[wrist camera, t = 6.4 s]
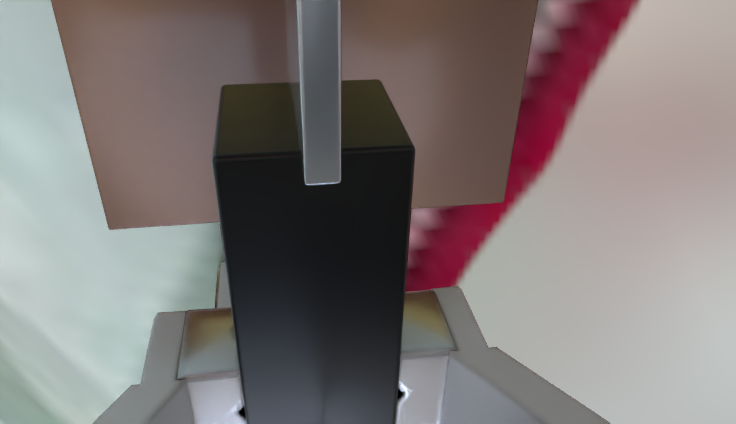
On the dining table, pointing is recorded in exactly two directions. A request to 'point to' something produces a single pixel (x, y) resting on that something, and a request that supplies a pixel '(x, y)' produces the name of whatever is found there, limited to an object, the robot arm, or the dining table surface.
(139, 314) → the dining table surface
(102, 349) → the dining table surface
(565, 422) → the robot arm
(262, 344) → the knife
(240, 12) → the cutting board
